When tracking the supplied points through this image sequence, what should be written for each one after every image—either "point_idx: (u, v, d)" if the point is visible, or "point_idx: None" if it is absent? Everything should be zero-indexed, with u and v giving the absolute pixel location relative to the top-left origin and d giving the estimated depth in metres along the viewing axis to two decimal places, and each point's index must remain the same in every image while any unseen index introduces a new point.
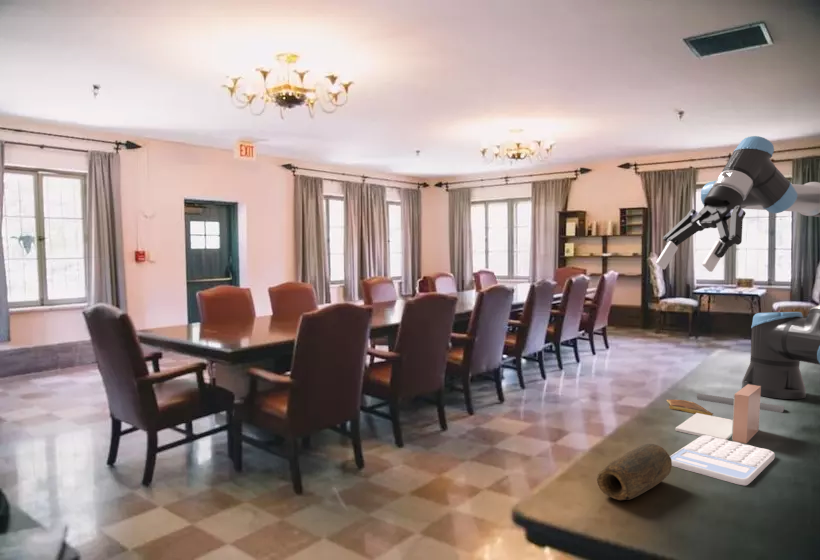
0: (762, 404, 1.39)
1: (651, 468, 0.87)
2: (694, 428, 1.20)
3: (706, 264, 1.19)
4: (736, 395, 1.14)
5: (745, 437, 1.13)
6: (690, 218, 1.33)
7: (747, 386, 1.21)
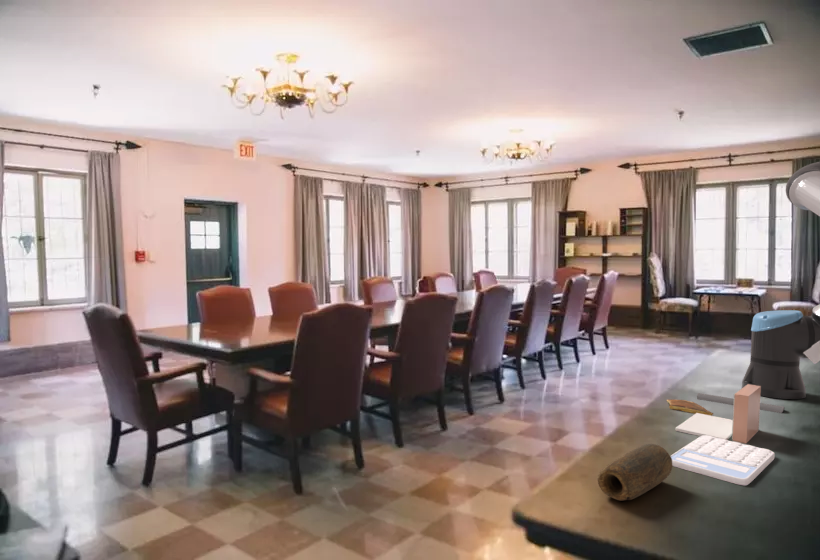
0: (762, 404, 1.39)
1: (651, 468, 0.87)
2: (694, 428, 1.20)
3: None
4: (736, 395, 1.14)
5: (745, 437, 1.13)
6: None
7: (747, 386, 1.21)
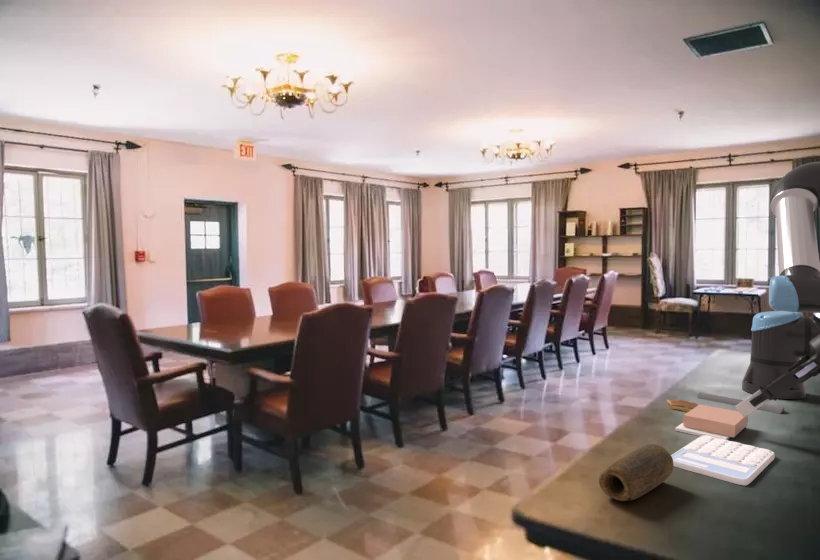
0: None
1: (653, 468, 0.87)
2: None
3: None
4: (684, 425, 1.21)
5: (727, 424, 1.15)
6: None
7: None
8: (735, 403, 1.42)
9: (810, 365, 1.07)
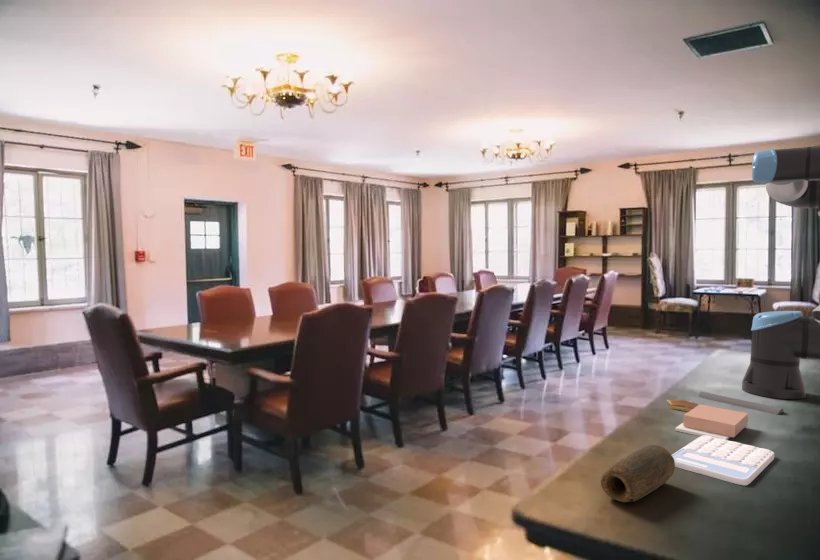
0: (760, 405, 1.38)
1: (654, 469, 0.87)
2: None
3: None
4: (684, 425, 1.21)
5: (727, 424, 1.15)
6: None
7: None
8: (734, 403, 1.42)
9: None
